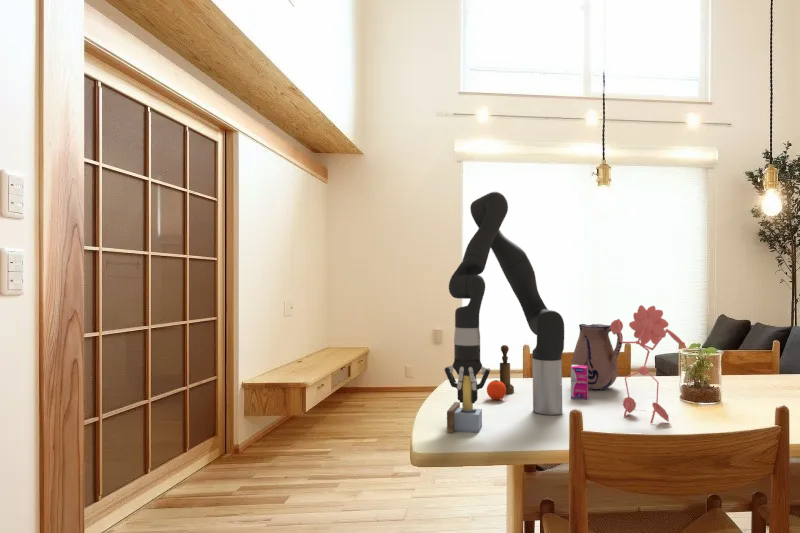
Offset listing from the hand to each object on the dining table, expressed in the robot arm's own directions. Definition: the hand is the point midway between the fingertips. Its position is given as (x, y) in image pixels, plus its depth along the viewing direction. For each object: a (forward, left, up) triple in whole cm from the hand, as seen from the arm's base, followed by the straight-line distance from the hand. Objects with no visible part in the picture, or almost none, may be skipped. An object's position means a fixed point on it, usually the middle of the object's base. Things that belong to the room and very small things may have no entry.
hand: (467, 402), depth 154 cm
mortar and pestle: (-6, -53, -8) cm, 54 cm away
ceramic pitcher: (-41, -70, -8) cm, 81 cm away
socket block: (0, 0, -8) cm, 8 cm away
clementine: (-4, -40, -8) cm, 41 cm away
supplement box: (-33, -51, -8) cm, 61 cm away
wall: (+4, 0, -8) cm, 9 cm away
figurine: (-53, -27, -8) cm, 60 cm away
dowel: (0, 0, -2) cm, 2 cm away
